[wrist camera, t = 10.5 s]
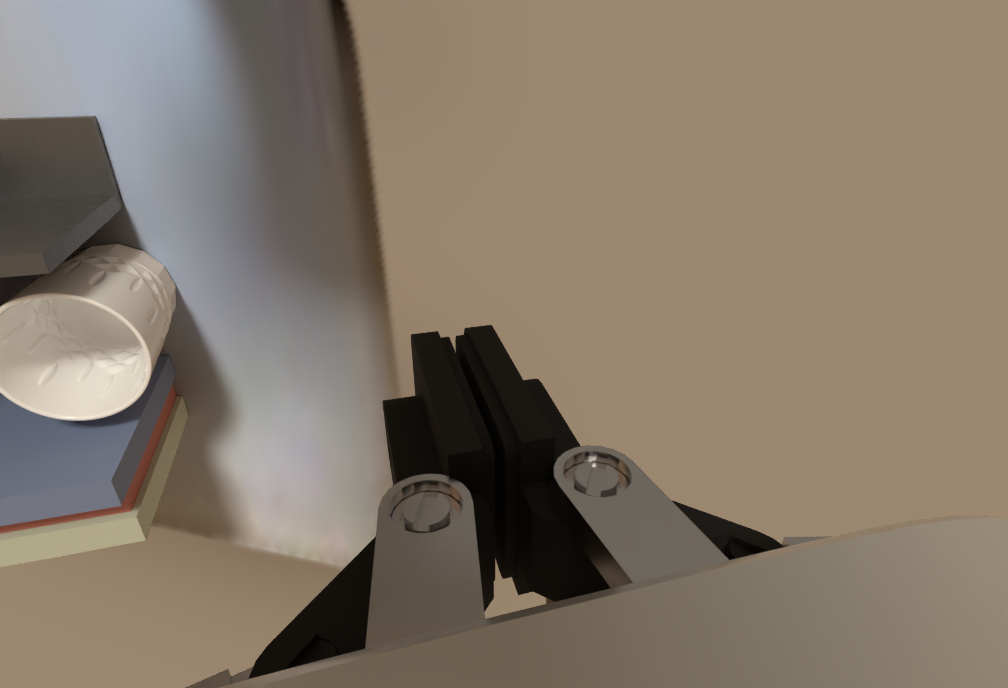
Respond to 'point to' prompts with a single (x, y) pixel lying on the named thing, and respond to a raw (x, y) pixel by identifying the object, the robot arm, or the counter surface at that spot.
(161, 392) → the book row
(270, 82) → the counter surface
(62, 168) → the bookend
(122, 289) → the white cup
